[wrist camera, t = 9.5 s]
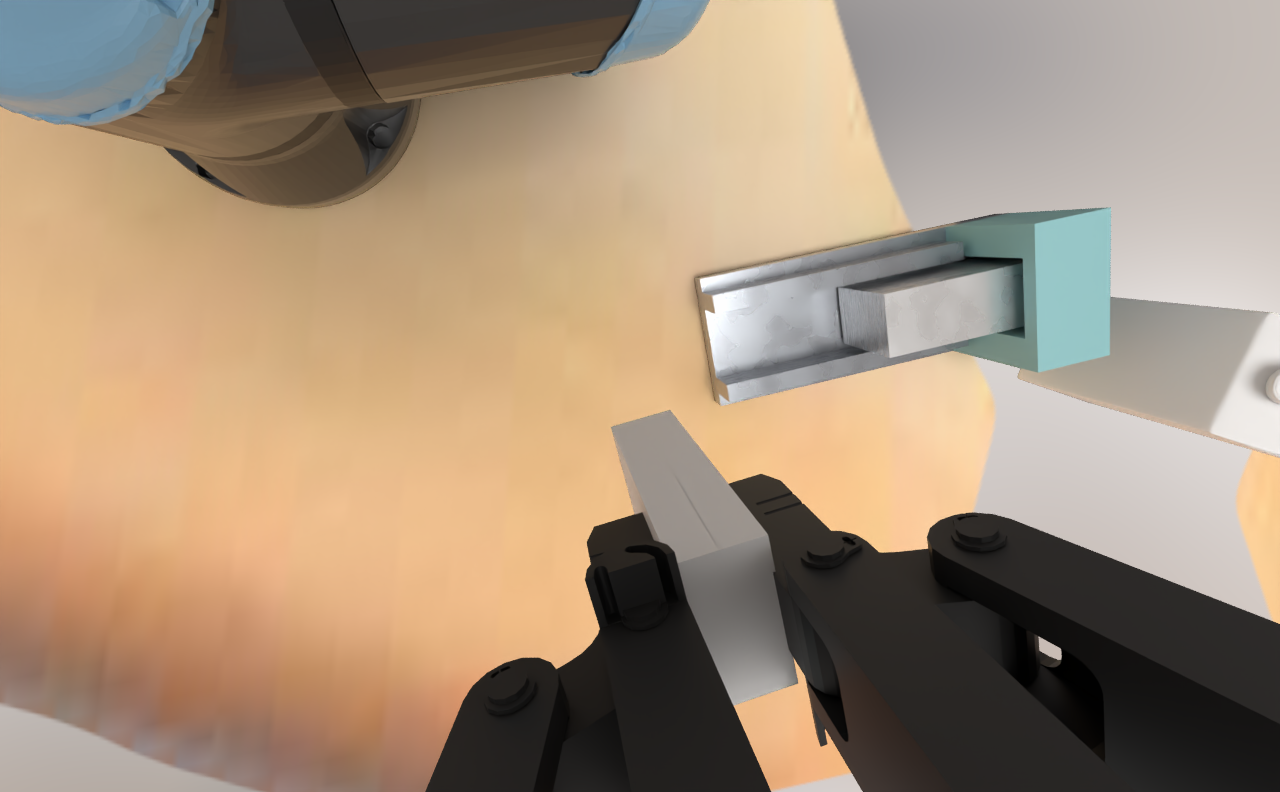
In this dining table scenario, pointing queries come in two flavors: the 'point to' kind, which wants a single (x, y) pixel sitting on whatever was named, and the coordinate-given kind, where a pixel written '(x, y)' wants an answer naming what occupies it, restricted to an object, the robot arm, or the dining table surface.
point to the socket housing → (1048, 285)
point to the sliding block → (933, 306)
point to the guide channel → (804, 314)
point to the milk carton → (1185, 371)
